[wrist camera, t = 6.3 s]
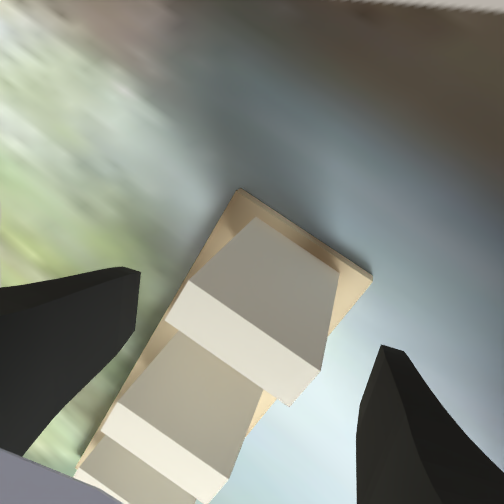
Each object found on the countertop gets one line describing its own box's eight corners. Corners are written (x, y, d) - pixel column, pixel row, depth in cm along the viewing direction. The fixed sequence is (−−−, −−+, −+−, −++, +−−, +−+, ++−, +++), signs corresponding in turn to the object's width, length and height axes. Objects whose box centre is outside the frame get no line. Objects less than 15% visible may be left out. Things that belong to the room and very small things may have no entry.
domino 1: (339, 273, 21) (320, 371, 13) (319, 299, 22) (289, 407, 14) (255, 216, 21) (188, 280, 14) (237, 244, 22) (164, 320, 14)
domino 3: (238, 405, 25) (178, 538, 18) (224, 423, 26) (160, 559, 18) (168, 356, 25) (78, 467, 18) (156, 376, 26) (64, 491, 18)
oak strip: (372, 275, 22) (372, 281, 21) (171, 523, 31) (166, 533, 30) (240, 188, 22) (235, 190, 21) (81, 459, 32) (75, 467, 31)
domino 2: (276, 355, 24) (228, 479, 16) (259, 377, 24) (206, 505, 16) (201, 304, 24) (117, 401, 16) (186, 327, 24) (100, 430, 17)
